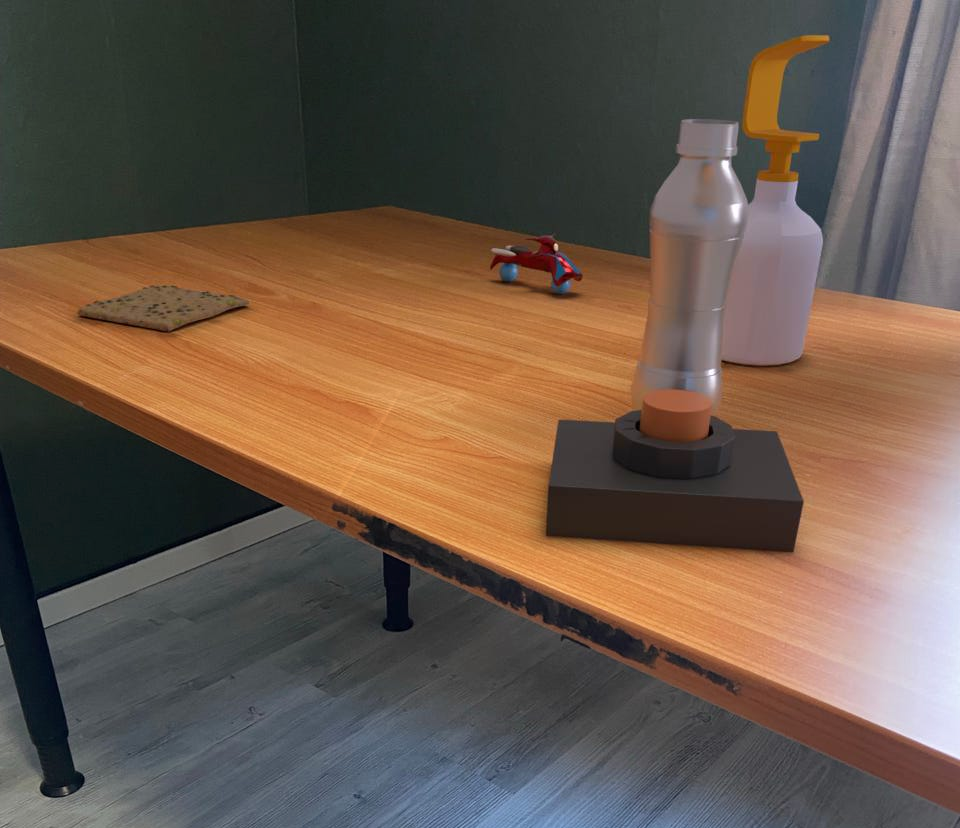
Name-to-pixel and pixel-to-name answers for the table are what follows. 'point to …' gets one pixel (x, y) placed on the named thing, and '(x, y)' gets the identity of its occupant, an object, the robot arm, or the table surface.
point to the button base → (672, 487)
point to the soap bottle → (773, 231)
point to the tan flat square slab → (162, 307)
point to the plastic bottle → (692, 264)
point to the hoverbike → (538, 262)
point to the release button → (675, 415)
